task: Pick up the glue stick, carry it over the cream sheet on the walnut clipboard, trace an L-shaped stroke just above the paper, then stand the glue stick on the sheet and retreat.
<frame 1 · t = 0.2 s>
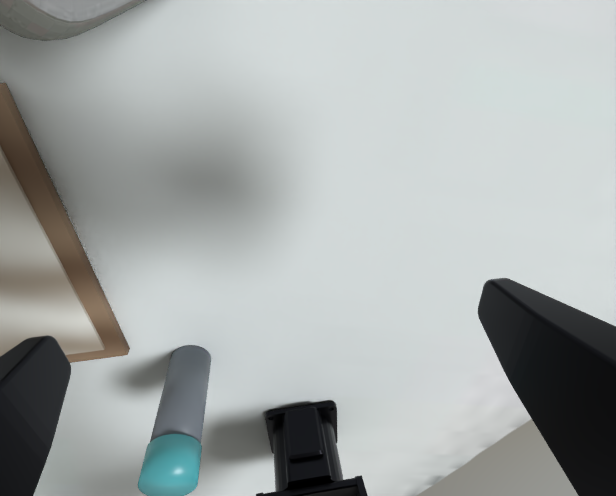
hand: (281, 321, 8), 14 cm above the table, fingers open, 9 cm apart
glue stick: (191, 359, 28), on the table
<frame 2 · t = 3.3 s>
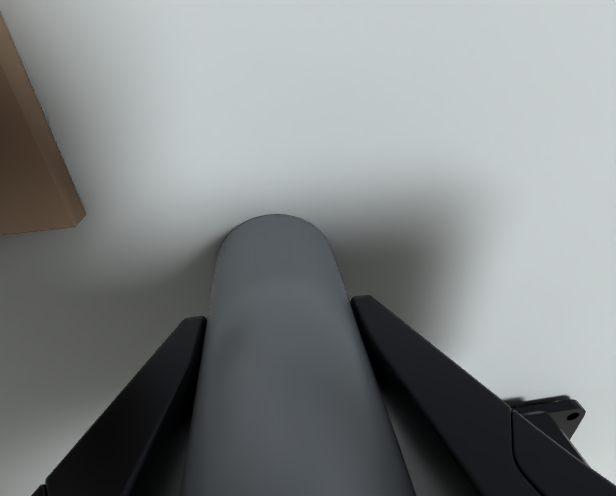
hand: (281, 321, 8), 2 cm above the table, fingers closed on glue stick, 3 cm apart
glue stick: (275, 266, 9), on the table, touching gripper
when the fingers open (3 cm above the table, at t = 9.0 s): glue stick stays where it is, resting on clipboard.
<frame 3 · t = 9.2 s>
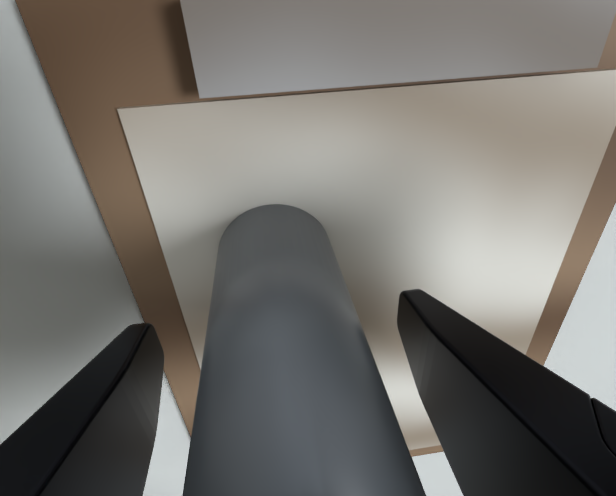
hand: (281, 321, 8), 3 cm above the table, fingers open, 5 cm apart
clipboard: (370, 307, 12), on the table
glue stick: (275, 255, 10), point 1 cm above the table, touching clipboard
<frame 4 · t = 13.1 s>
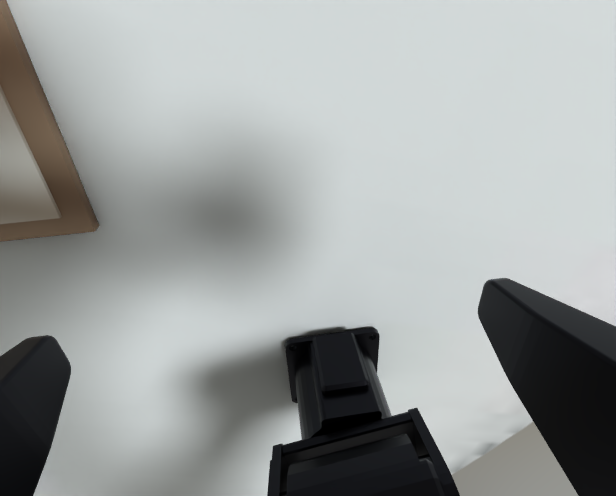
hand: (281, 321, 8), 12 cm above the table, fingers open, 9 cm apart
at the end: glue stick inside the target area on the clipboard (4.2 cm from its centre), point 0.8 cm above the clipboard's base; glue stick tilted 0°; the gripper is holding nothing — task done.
